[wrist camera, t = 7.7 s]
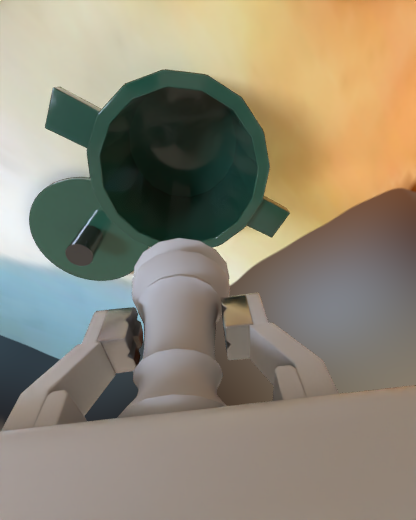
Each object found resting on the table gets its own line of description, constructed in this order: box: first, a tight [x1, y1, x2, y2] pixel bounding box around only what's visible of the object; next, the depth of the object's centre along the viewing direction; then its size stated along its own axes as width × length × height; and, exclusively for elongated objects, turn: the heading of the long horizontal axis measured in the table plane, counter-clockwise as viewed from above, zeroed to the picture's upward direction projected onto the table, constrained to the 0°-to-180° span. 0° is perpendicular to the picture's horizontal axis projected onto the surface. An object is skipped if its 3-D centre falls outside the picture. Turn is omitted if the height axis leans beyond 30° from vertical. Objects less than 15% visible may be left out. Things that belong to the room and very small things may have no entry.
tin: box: [45, 69, 290, 247], centre depth 22 cm, size 12×17×10 cm
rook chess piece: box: [118, 238, 230, 418], centre depth 10 cm, size 4×4×8 cm
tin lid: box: [29, 177, 149, 281], centre depth 29 cm, size 13×13×5 cm
